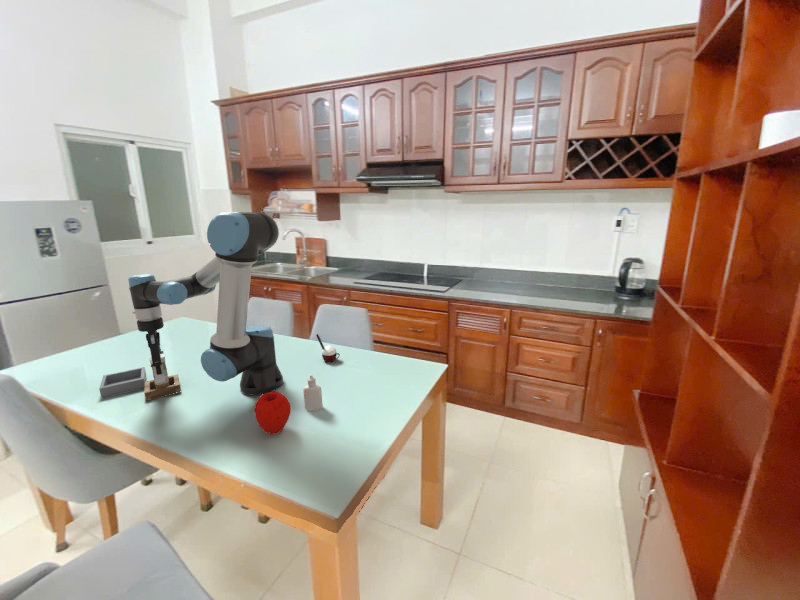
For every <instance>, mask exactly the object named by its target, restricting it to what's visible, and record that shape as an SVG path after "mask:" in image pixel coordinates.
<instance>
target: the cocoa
mask: <svg viewBox="0 0 800 600" xmlns="http://www.w3.org/2000/svg"><path fill="white" fill-rule="evenodd" d="M316 338H317V341H318V343H319V344H320V347H321V348H322V350H321V357H322V360H323V361H324V362H325V363H333V362H334V361H335V360H338V359H339V358H340V353H338V352H337V349H336V348H335V347H334V346H333V345H326V346H324V344H323V342H322V339H321V337H320V335H319V333H317V334H316ZM337 356H338V357H337Z"/></svg>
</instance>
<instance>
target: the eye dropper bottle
mask: <svg viewBox="0 0 800 600" xmlns="http://www.w3.org/2000/svg"><path fill="white" fill-rule="evenodd" d="M322 394H323V393H322V387H321V385H319V384H317V382H316V378H315V377H314V375H313V374H310V375H309V378H308V379H307V385H305V386H304V387H303V402H304V409H305V410H306V411H309V412H317V411H321V410H322V409H323V406H324V405H323V395H322Z"/></svg>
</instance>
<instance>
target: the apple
mask: <svg viewBox="0 0 800 600" xmlns="http://www.w3.org/2000/svg"><path fill="white" fill-rule="evenodd" d="M253 412H254V417H255V420H256V423H257V425H258V427H260V428H261V430H262V431H264V432H265V433H267V434H268V435H277V434H279V433H281V432H282V430H283V429H284V428H285V427H286V424H288V423H287V422H288V421H289V419H290V416H291V412H292V406H291V403H290V401H289V398H287V396H286V395H285V394H284V393H281V392H278V391H272V392H268V393H265V394H262V395H261V396H260V395H259V397H258V399H257V400H256V402H255V405H254V411H253Z"/></svg>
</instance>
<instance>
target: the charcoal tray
mask: <svg viewBox="0 0 800 600" xmlns="http://www.w3.org/2000/svg"><path fill="white" fill-rule="evenodd" d="M146 372H147V371H146V367H145V366H144V367H143V366H142V367H138V368H133V369H128V370H125V371H124V370H123V371H119V372H113V373H110V374H109V373H108V374H103V375H102V379H101V382H100V384H99V392H100V393H99V394H100V397H101V399H104V398H105V399H106V398H110V397H113V396H117V395H122V394H126V393H130V392H134V391H135V392H136V391H138V390H139V391H140V390H143V389H144V390H145V382H146V381H147V373H146Z"/></svg>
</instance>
